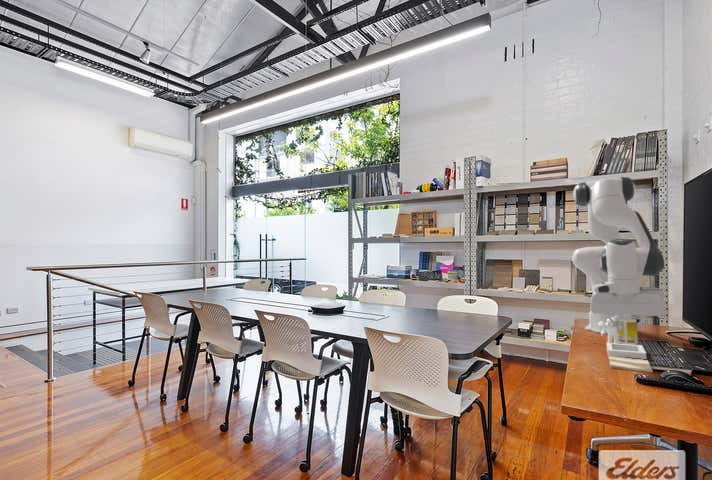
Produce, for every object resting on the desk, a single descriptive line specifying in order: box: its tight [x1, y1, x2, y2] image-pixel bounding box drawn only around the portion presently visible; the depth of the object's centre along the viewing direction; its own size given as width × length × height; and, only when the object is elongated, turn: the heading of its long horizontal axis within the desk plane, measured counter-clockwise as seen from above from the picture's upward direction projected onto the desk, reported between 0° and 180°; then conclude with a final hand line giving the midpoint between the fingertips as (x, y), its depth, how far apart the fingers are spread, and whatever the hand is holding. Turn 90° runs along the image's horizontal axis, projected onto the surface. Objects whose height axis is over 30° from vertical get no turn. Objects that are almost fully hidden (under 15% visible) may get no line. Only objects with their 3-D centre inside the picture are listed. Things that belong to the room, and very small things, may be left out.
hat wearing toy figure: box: [599, 315, 620, 344], centre depth 149 cm, size 9×4×12 cm, turn 66°
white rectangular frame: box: [606, 342, 648, 360], centre depth 136 cm, size 11×11×2 cm
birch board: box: [608, 357, 653, 373], centre depth 125 cm, size 11×11×1 cm
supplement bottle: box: [616, 313, 639, 345], centre depth 125 cm, size 6×6×10 cm
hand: (626, 327), depth 125 cm, fingers closed on supplement bottle, 6 cm apart
